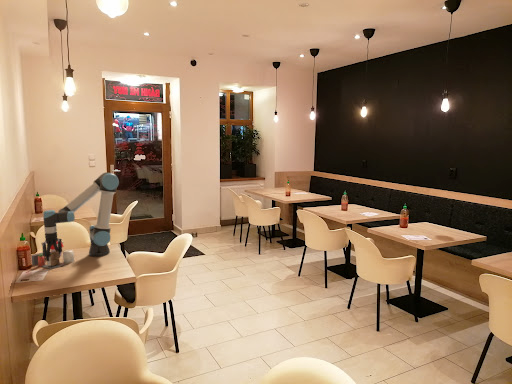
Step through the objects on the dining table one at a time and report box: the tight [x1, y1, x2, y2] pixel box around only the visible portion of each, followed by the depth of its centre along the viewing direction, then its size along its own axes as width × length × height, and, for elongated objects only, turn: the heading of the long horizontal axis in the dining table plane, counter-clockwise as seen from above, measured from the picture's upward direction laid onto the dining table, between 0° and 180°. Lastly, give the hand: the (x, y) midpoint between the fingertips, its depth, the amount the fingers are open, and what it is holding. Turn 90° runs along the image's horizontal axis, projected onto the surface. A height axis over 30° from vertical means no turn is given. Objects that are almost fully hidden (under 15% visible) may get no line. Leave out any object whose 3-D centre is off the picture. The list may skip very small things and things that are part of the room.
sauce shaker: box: [37, 253, 46, 268], centre depth 273 cm, size 4×4×9 cm
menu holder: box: [30, 252, 46, 266], centre depth 278 cm, size 8×3×7 cm, turn 150°
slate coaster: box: [41, 262, 67, 270], centre depth 273 cm, size 11×11×1 cm
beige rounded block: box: [62, 249, 75, 264], centre depth 281 cm, size 7×7×8 cm
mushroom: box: [50, 240, 65, 257], centre depth 297 cm, size 11×11×12 cm
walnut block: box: [46, 250, 61, 266], centre depth 272 cm, size 6×6×9 cm
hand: (53, 263), depth 273 cm, fingers closed on walnut block, 5 cm apart
